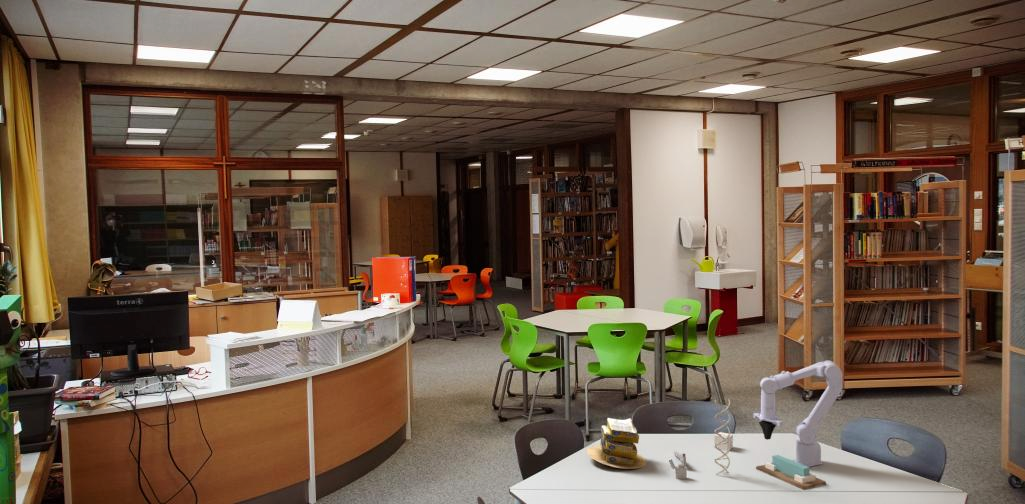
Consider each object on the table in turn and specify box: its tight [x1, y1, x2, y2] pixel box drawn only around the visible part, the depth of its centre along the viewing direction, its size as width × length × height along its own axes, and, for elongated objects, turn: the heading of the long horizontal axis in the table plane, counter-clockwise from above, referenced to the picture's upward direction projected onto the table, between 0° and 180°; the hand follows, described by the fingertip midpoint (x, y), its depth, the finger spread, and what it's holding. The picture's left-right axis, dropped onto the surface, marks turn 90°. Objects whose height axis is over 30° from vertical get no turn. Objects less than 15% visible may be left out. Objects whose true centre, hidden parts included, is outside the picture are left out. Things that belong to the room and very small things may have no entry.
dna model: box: [714, 398, 731, 475], centre depth 281 cm, size 7×6×30 cm
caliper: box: [673, 450, 687, 468], centre depth 296 cm, size 20×1×6 cm, turn 179°
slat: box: [771, 454, 811, 477], centre depth 277 cm, size 3×16×5 cm, turn 24°
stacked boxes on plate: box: [586, 417, 647, 470], centre depth 297 cm, size 25×25×17 cm
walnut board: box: [755, 463, 827, 490], centre depth 278 cm, size 12×24×1 cm, turn 25°
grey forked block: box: [667, 457, 688, 480], centre depth 277 cm, size 7×2×8 cm, turn 87°
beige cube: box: [713, 431, 734, 452], centre depth 312 cm, size 6×6×6 cm
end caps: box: [764, 462, 817, 483], centre depth 278 cm, size 7×19×2 cm, turn 25°
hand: (767, 438), depth 295 cm, fingers closed
